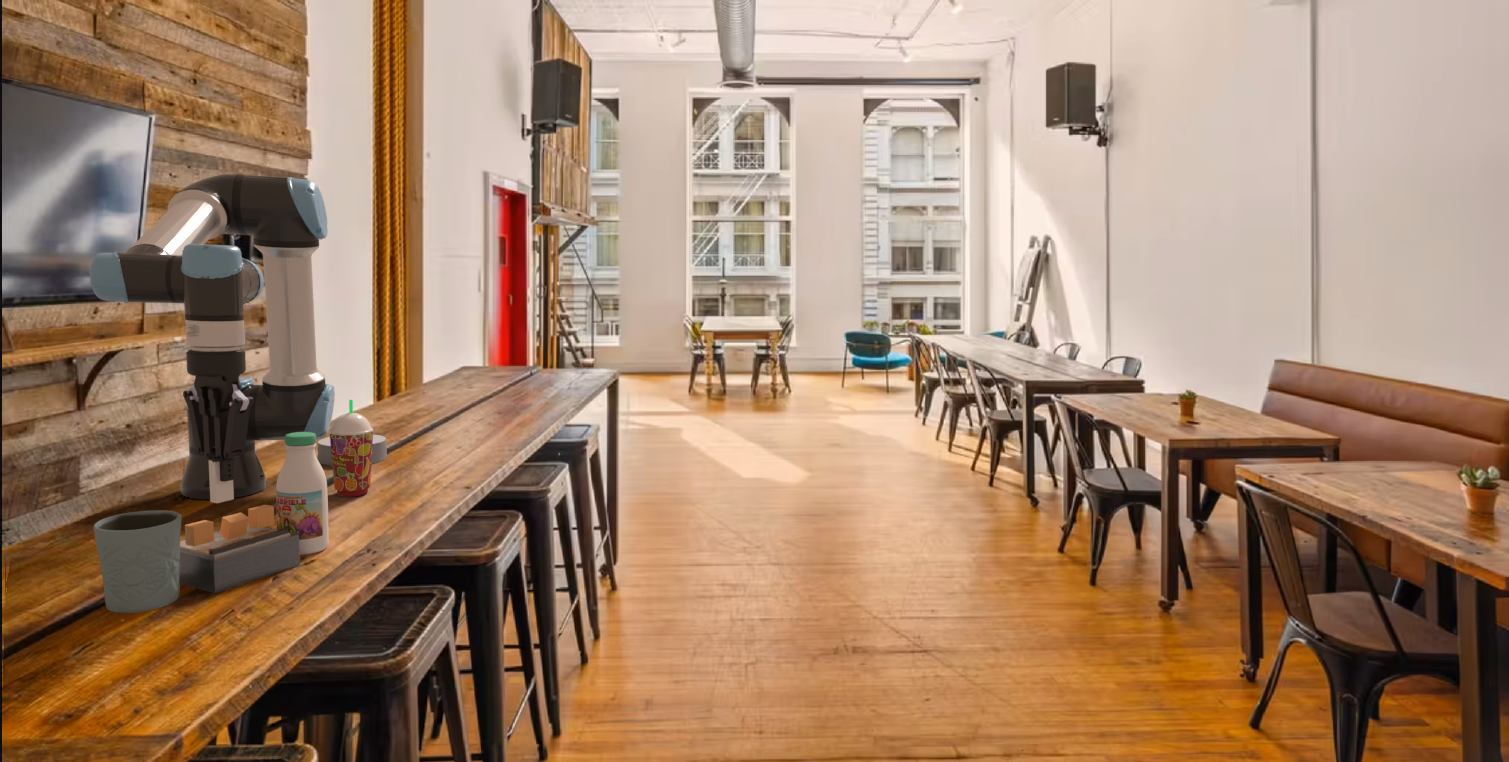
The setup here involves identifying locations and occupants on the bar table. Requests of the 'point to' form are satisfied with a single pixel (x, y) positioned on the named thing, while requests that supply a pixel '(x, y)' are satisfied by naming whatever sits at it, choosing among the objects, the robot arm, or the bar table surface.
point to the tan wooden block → (261, 516)
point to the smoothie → (351, 453)
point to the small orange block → (234, 526)
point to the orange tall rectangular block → (199, 533)
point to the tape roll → (377, 450)
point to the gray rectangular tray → (237, 559)
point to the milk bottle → (303, 494)
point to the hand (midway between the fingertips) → (222, 500)
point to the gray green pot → (139, 559)
